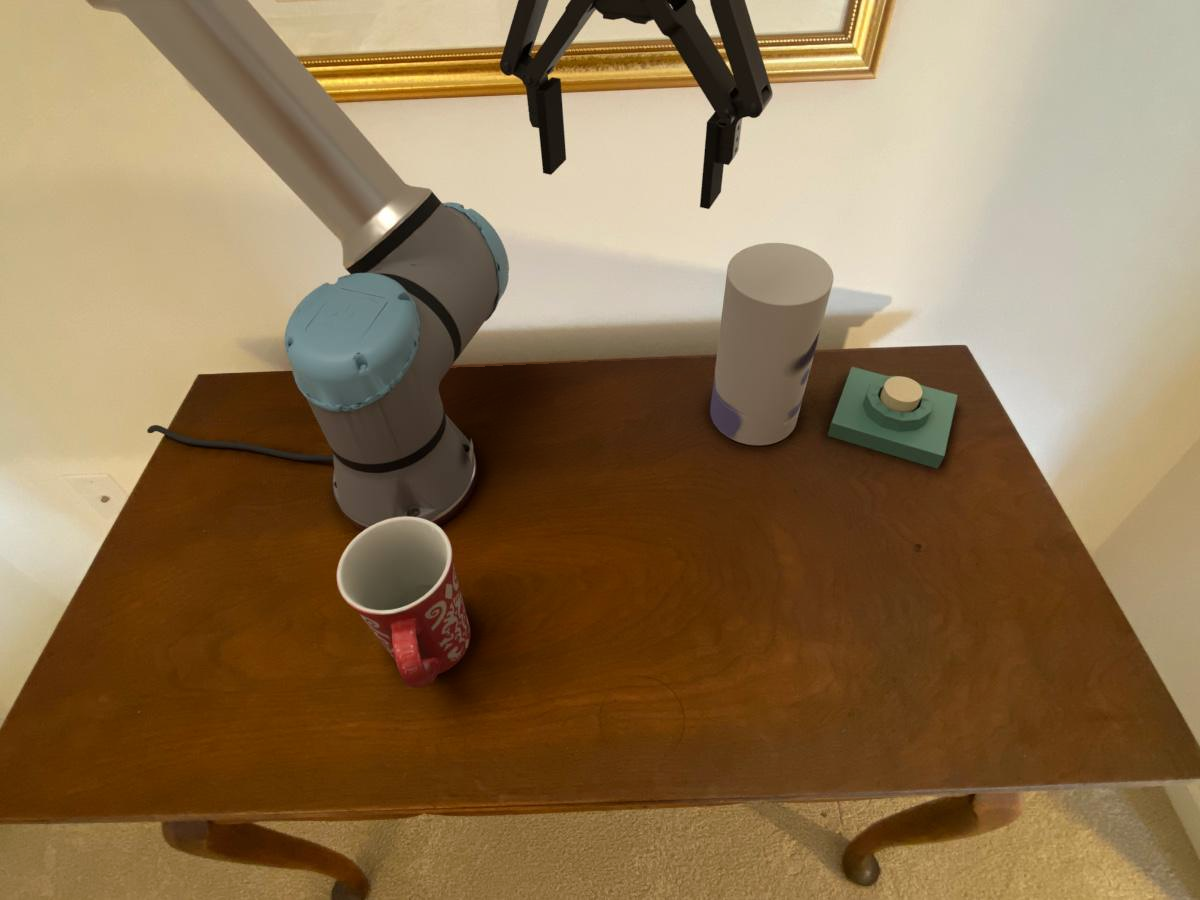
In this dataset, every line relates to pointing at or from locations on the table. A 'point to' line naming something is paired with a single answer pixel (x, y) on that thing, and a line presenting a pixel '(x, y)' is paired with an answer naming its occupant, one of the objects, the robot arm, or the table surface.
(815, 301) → the container
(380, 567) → the mug
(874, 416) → the green button base
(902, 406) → the cream push button
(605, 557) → the table surface
